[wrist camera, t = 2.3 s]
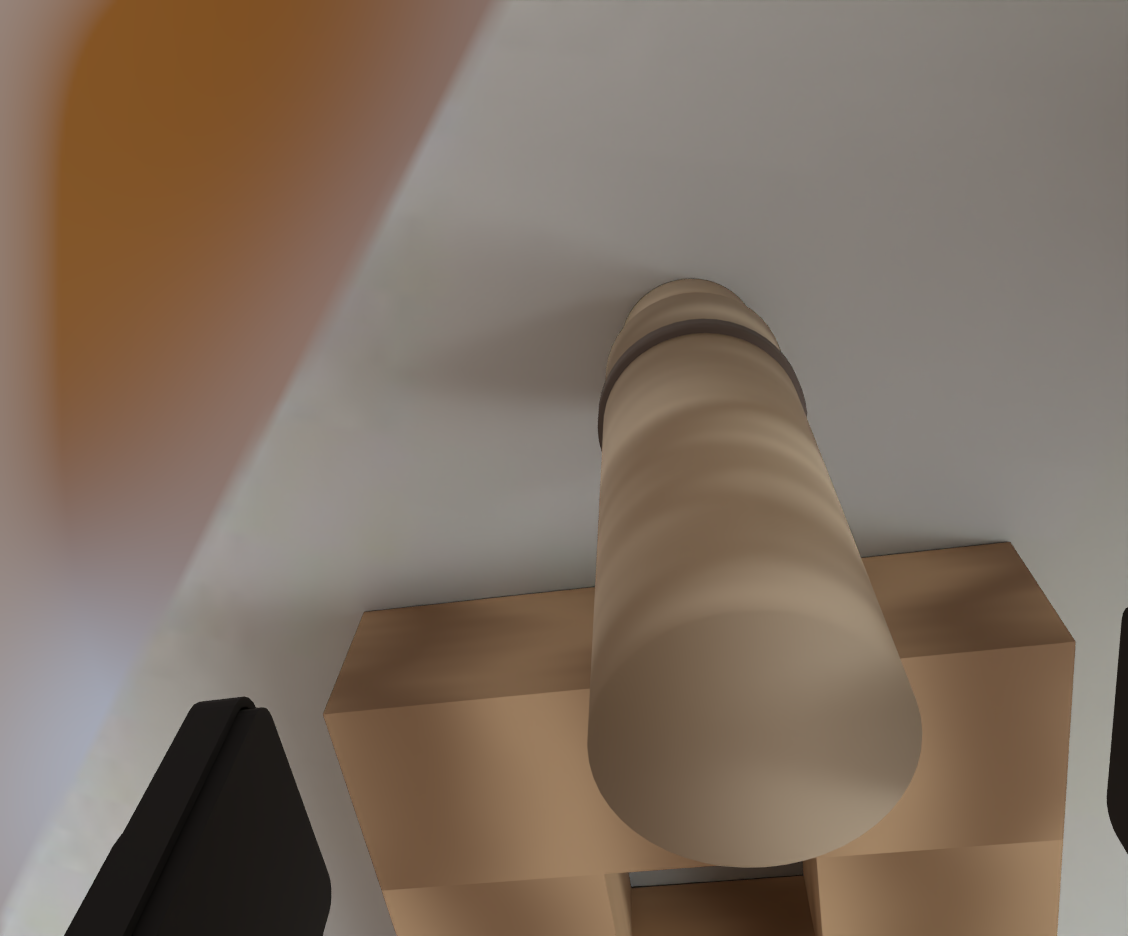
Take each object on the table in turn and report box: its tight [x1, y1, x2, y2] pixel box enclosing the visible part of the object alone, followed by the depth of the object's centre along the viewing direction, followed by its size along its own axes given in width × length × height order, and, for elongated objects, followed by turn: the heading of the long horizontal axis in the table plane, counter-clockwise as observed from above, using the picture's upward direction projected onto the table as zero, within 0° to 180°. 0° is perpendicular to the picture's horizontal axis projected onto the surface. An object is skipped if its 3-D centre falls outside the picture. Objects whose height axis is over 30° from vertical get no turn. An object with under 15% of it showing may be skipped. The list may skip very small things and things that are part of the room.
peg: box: [587, 279, 922, 868], centre depth 17 cm, size 4×4×13 cm
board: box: [323, 542, 1075, 936], centre depth 27 cm, size 16×16×4 cm
